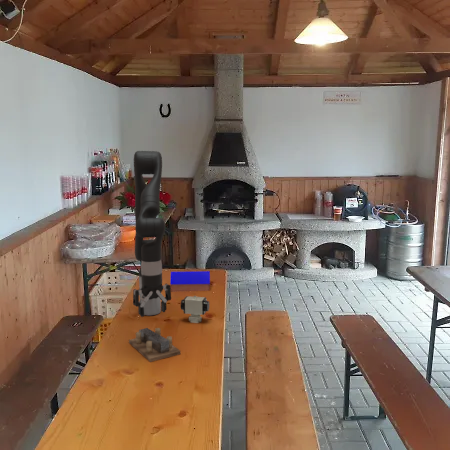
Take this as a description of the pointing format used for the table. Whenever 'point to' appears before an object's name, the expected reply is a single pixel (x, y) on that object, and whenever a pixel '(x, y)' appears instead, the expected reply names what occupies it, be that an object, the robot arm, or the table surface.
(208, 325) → the table surface
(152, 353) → the cradle
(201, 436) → the table surface
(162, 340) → the bar
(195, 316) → the pneumatic valve
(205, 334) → the table surface
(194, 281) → the house
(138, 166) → the robot arm
